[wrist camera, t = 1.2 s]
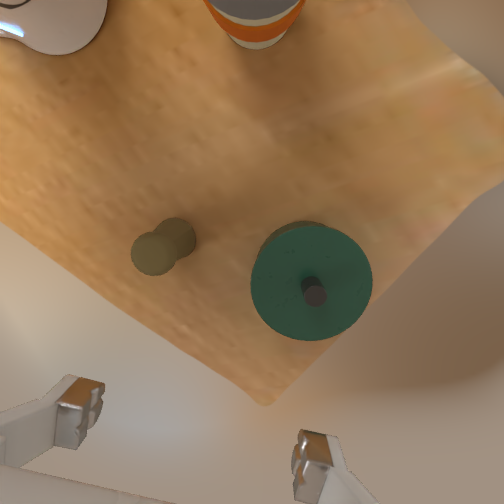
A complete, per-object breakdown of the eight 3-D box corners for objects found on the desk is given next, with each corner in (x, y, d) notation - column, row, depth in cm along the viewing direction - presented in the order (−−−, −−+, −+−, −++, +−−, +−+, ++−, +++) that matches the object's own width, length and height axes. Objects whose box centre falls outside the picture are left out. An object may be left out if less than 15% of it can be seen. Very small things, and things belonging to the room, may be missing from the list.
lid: (227, 290, 41) (223, 305, 37) (303, 199, 38) (308, 202, 34) (315, 357, 43) (321, 378, 38) (394, 274, 40) (411, 287, 35)
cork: (162, 263, 47) (133, 288, 37) (149, 223, 46) (114, 238, 35) (201, 253, 47) (183, 275, 36) (188, 213, 45) (166, 224, 35)
